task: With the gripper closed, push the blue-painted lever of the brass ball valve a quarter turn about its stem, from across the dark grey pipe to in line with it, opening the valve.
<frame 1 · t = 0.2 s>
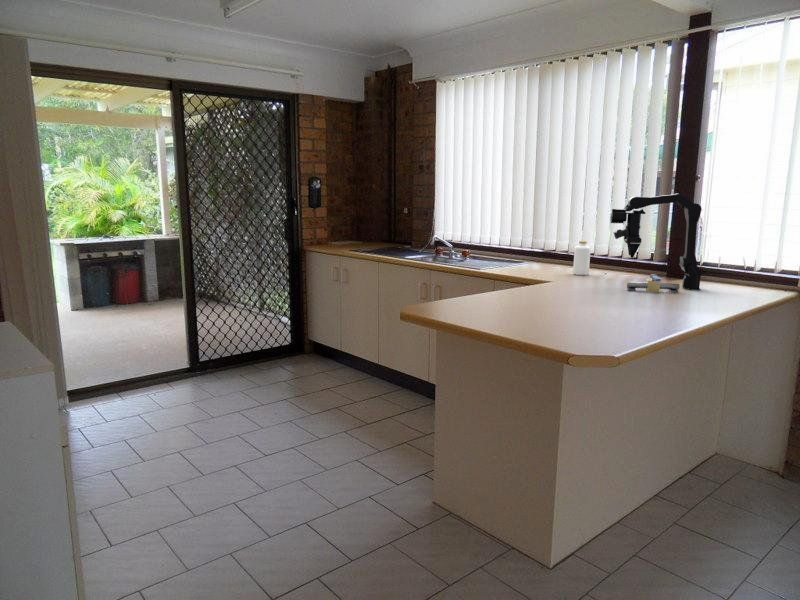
hand: (630, 256, 270), 14 cm above the worktop, fingers open, 9 cm apart
potion bottle: (580, 274, 309), on the worktop
valve lever: (655, 277, 254), point 7 cm above the worktop, hinge at 0.0°
pipe run: (652, 291, 260), on the worktop
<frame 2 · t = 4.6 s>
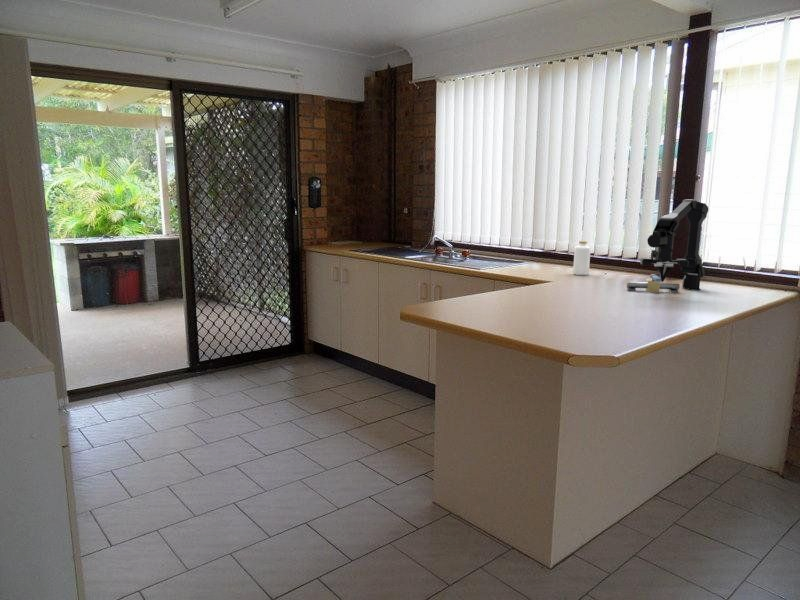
hand: (662, 281, 250), 6 cm above the worktop, fingers closed
valve lever: (655, 277, 254), point 7 cm above the worktop, hinge at 0.0°, touching gripper
everything else where it was.
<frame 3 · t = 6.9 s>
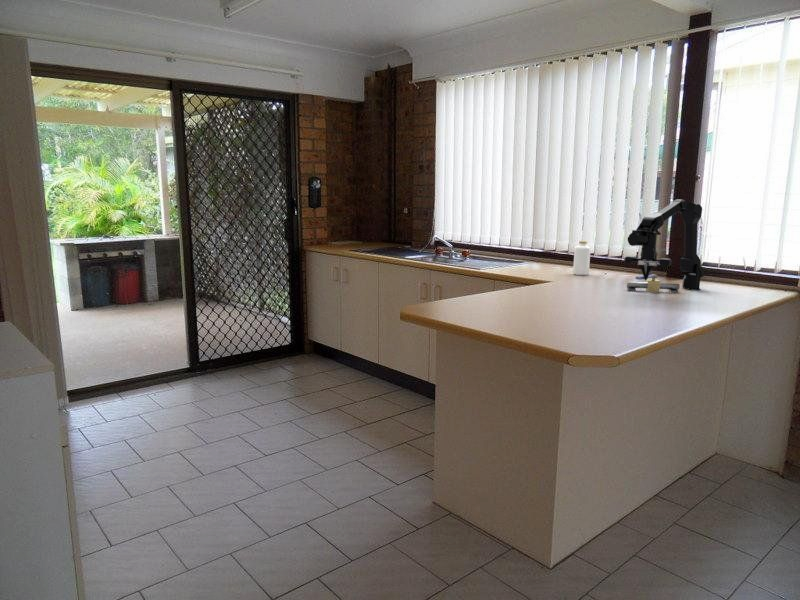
hand: (645, 280, 253), 6 cm above the worktop, fingers closed
valve lever: (646, 277, 256), point 7 cm above the worktop, hinge at -46.0°, touching gripper
everything else where it was.
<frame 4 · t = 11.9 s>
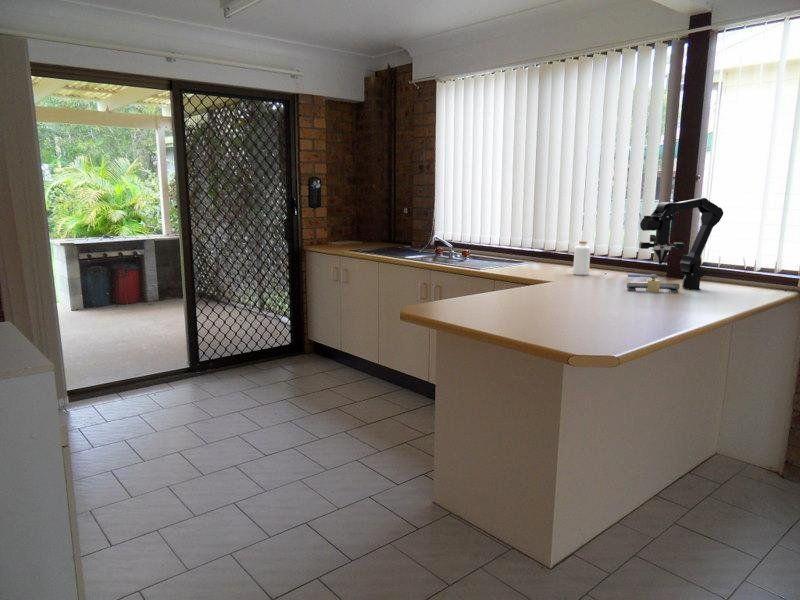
hand: (660, 264, 261), 12 cm above the worktop, fingers closed
valve lever: (642, 275, 260), point 7 cm above the worktop, hinge at -89.2°
everything else where it was.
at the end: valve lever at -89° (first picture: +0°) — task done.
